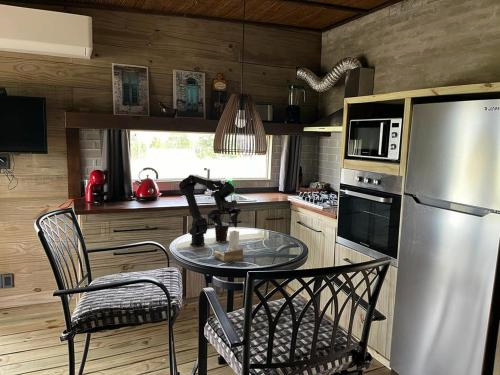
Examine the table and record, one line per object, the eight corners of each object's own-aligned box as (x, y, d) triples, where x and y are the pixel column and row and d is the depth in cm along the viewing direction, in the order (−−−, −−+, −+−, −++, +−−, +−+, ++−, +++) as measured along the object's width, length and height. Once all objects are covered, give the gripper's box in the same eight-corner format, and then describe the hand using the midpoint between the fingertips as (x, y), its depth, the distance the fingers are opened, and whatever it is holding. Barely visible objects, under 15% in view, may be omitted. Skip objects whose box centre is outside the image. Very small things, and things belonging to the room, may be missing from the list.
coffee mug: (220, 237, 241) (221, 221, 240) (231, 240, 236) (231, 224, 234) (207, 240, 232) (208, 224, 231) (217, 243, 227) (218, 227, 226)
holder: (214, 257, 202) (214, 247, 201) (230, 253, 209) (231, 244, 209) (225, 262, 195) (226, 252, 194) (242, 258, 202) (242, 249, 201)
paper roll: (226, 251, 213) (227, 231, 212) (231, 248, 218) (232, 229, 216) (235, 252, 211) (236, 232, 209) (239, 250, 216) (240, 230, 214)
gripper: (214, 195, 195) (223, 224, 190) (242, 193, 207) (251, 220, 203) (203, 204, 203) (211, 232, 198) (231, 202, 215) (239, 228, 210)
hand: (229, 228), depth 202 cm, fingers open, 9 cm apart
